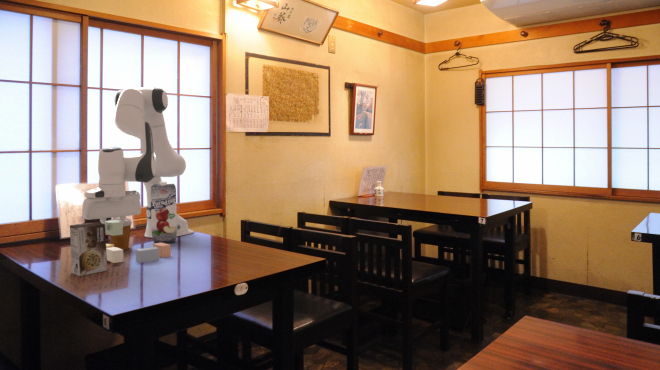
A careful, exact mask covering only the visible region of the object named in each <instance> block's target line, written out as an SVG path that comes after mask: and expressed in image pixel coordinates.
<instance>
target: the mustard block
mask: <svg viewBox="0 0 660 370" xmlns="http://www.w3.org/2000/svg"><path fill="white" fill-rule="evenodd" d="M111 247H114V245H113V244H111V243H106V248H111Z"/></svg>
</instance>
